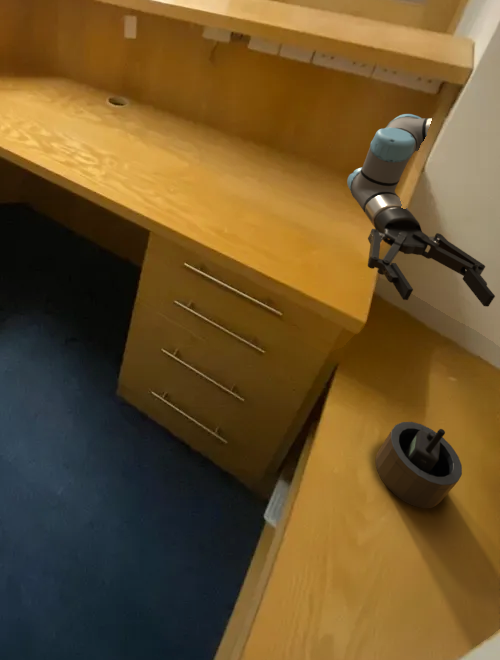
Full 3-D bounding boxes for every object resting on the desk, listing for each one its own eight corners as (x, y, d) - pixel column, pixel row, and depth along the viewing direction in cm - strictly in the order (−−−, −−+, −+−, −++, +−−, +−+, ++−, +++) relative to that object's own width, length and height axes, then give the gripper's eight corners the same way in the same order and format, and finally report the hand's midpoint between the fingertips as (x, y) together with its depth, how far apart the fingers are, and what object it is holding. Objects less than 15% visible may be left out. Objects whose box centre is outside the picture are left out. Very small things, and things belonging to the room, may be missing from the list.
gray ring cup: (430, 455, 91) (449, 431, 87) (451, 517, 83) (472, 493, 79) (369, 439, 94) (384, 414, 90) (383, 497, 86) (400, 473, 82)
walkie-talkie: (399, 456, 91) (432, 408, 83) (421, 468, 89) (457, 420, 81) (395, 479, 88) (429, 431, 80) (418, 492, 86) (455, 445, 78)
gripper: (447, 237, 109) (513, 318, 91) (326, 229, 111) (368, 306, 93) (461, 210, 105) (534, 289, 87) (336, 202, 107) (382, 277, 89)
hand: (448, 298), depth 90 cm, fingers open, 13 cm apart
